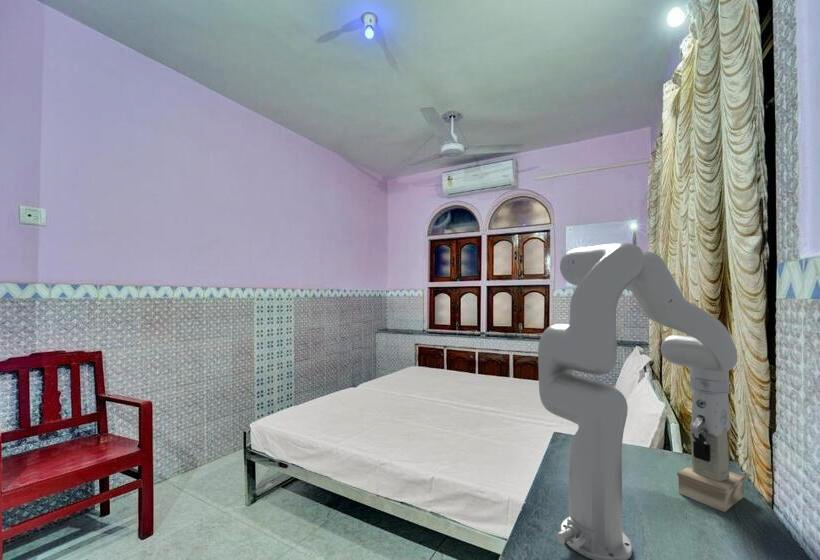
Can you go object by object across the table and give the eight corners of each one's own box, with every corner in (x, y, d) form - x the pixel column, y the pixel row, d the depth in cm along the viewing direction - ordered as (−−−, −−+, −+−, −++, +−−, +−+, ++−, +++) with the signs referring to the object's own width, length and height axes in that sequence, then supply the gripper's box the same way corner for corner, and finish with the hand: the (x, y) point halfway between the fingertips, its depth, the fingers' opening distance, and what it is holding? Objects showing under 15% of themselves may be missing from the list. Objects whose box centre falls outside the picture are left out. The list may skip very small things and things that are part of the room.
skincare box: (730, 479, 88) (729, 428, 88) (719, 482, 86) (718, 430, 86) (700, 467, 93) (700, 419, 94) (690, 470, 92) (689, 421, 92)
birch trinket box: (725, 512, 82) (724, 490, 82) (677, 493, 90) (677, 472, 90) (745, 497, 89) (744, 476, 89) (698, 480, 97) (698, 460, 97)
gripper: (713, 393, 83) (714, 469, 82) (741, 384, 92) (742, 452, 91) (675, 386, 89) (676, 456, 88) (705, 378, 98) (706, 442, 98)
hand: (710, 454), depth 90 cm, fingers open, 9 cm apart
